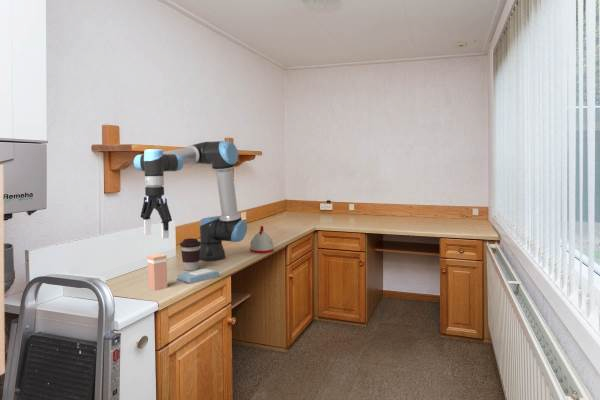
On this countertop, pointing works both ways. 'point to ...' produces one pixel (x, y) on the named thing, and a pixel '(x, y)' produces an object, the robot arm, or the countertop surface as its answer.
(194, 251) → the coffee cup
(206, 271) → the board
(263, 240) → the grey dome
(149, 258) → the pink rectangular box
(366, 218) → the countertop surface
